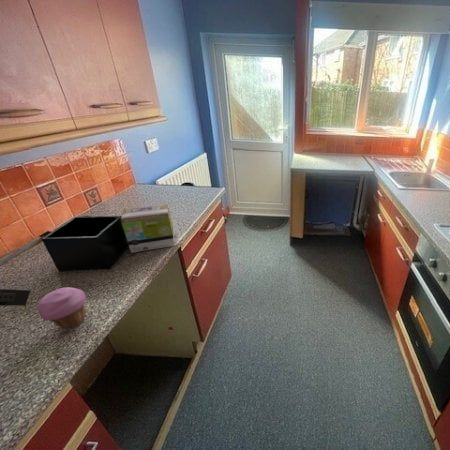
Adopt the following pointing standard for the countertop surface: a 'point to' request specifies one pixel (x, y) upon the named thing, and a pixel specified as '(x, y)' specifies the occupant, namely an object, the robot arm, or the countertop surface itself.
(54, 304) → the cupcake
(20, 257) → the countertop surface
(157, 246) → the tea box
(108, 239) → the waste bin
